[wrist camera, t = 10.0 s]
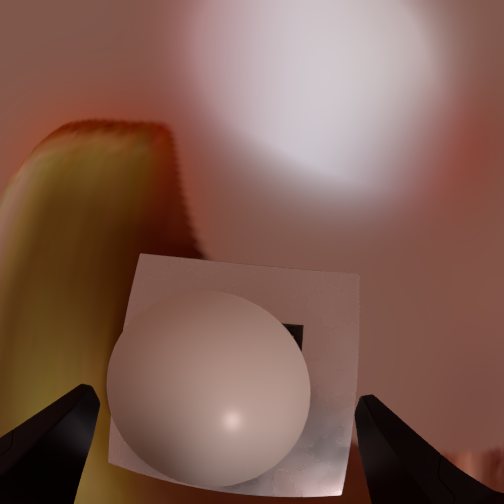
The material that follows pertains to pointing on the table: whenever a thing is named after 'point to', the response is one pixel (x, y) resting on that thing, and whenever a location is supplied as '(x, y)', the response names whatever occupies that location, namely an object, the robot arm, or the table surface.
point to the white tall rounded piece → (208, 388)
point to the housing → (309, 342)
